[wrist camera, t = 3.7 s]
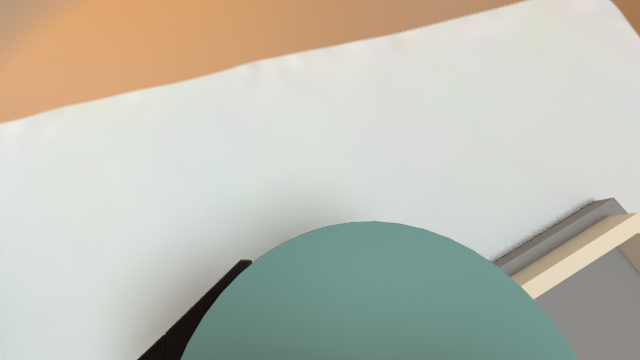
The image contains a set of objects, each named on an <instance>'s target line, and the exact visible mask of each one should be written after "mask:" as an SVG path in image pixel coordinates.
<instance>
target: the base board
mask: <svg viewBox="0 0 640 360" xmlns="http://www.w3.org/2000/svg"><path fill="white" fill-rule="evenodd" d="M493 264H494V265H496V266H497V267H498V268H500V269H501V270H502V271H503V272H505V273H506V274H507V275H508V276H509V277H511V278H512V279H513V280H514V281H515V282H517V283H518V284H519V285H520V286H521V287H522V288H523V289H524V290H525V291H526V292H527V293H528V294H529V295H530V296H531V297H532V298H533V299H534V300H535V301H536V302H537V303H538V305H539V306H540V307H541V308H542V309H543V310H544V312H545V313H546V314H547V315H548V317H549V318H550V319H551V320H552V322H553V323H554V324H555V325H556V327H557V328H558V329H559V331H560V332H561V333H562V335H563V336H564V338H565V339H566V341H567V343H568V344H569V346H570V347H571V349H572V350H573V352H574V354H575V355H576V357H577V358H578V360H640V214H639V213H631V214H628V213H627V212H626V211H625V210H624V209H623V208H622V206H621V205H620V204H619V203H618V202H617V201H616V200H615V198H609V199H604V200H599V201H594V202H593V203H591V204H589V205H588V206H586V207H584V208H583V209H581V210H579V211H578V212H576V213H574V214H573V215H571V216H570V217H568V218H566V219H565V220H563V221H561V222H560V223H558V224H556V225H555V226H553V227H551V228H550V229H548V230H547V231H545V232H543V233H542V234H540V235H538V236H537V237H535V238H533V239H532V240H530V241H528V242H527V243H525V244H524V245H522V246H520V247H519V248H517V249H515V250H514V251H512V252H510V253H509V254H507V255H505V256H504V257H502V258H500V259H499V260H497V261H496V262H494V263H493Z"/></svg>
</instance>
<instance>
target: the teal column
mask: <svg viewBox="0 0 640 360" xmlns="http://www.w3.org/2000/svg"><path fill="white" fill-rule="evenodd" d="M181 360H578V358H577V357H576V355H575V354H574V352H573V350H572V349H571V347H570V346H569V344H568V343H567V341H566V339H565V338H564V336H563V335H562V333H561V332H560V331H559V329H558V328H557V327H556V325H555V324H554V323H553V322H552V320H551V319H550V318H549V317H548V315H547V314H546V313H545V312H544V310H543V309H542V308H541V307H540V306H539V305H538V303H537V302H536V301H535V300H534V299H533V298H532V297H531V296H530V295H529V294H528V293H527V292H526V291H525V290H524V289H523V288H522V287H521V286H520V285H519V284H518V283H517V282H515V281H514V280H513V279H512V278H511V277H509V276H508V275H507V274H506V273H505V272H503V271H502V270H501V269H500V268H498V267H497V266H496V265H494V264H493V263H491V262H490V261H488V260H487V259H485V258H484V257H482V256H481V255H479V254H478V253H476V252H475V251H473V250H471V249H469V248H467V247H465V246H463V245H461V244H459V243H457V242H455V241H453V240H451V239H449V238H447V237H444V236H441V235H439V234H436V233H433V232H430V231H428V230H425V229H421V228H416V227H412V226H408V225H403V224H397V223H387V222H377V221H372V222H350V223H344V224H338V225H332V226H327V227H323V228H320V229H317V230H314V231H310V232H307V233H304V234H302V235H300V236H298V237H295V238H293V239H291V240H289V241H287V242H284V243H282V244H281V245H279V246H277V247H276V248H274V249H273V250H271V251H269V252H268V253H266V254H265V255H263V256H261V257H260V258H259V259H257V260H256V261H255V262H254V263H253V264H251V265H250V266H249V267H248V268H246V269H245V270H244V271H243V272H242V273H240V274H239V275H238V276H237V277H236V278H235V280H234V281H233V282H232V283H231V284H230V285H229V286H228V287H227V288H226V289H225V290H224V291H223V292H222V293H221V294H220V296H219V297H218V298H217V300H216V301H215V302H214V304H213V305H212V306H211V308H210V309H209V310H208V311H207V313H206V314H205V315H204V317H203V319H202V320H201V322H200V324H199V325H198V327H197V329H196V330H195V332H194V334H193V335H192V337H191V339H190V341H189V342H188V344H187V347H186V349H185V351H184V353H183V355H182V358H181Z"/></svg>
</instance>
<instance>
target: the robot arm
mask: <svg viewBox="0 0 640 360" xmlns="http://www.w3.org/2000/svg"><path fill="white" fill-rule="evenodd" d="M251 264H252V261H251V260H240V261H239V262H238V263H237V264H236V265H235V266H234V267H233V268H232V269H231V270H230V271H229V272H228V273H227V274H226V275H224V276H223V277H222V278H221V279H220V280H219V281H218V282H217V283H216V284H215V285H214V286H213V287H212V288H211V289H210V290H209V291H208V292H207V293H206V294H205V295H204V296H203V297H202V298H201V299H200V300H199V301H198V302H197V303H196V304H195V305H194V306H193V307H192V308H191V309H190V310H188V311H187V312H186V313H185V314H184V315H183V316H182V317H181V318H180V319H179V320H178V321H177V322H176V323H175V324H174V325H173V326H172V327H171V328H170V329H169V330H168V331H167V332H166V333H165V335H163V336H162V337H161V338H160V339H159V340H158V341H156V342H155V343H154V344H153V345H152V346H151V347H150V348H149V349H148V350H147V351H146V352H145V353H144V354H143V355H142V356H141V357H139V358H138V359H137V360H181V358H182V355H183V353H184V351H185V349H186V347H187V344H188V342H189V341H190V339H191V337H192V335H193V334H194V332H195V330H196V329H197V327H198V325H199V324H200V322H201V320H202V319H203V317H204V315H205V314H206V313H207V311H208V310H209V309H210V308H211V306H212V305H213V304H214V302H215V301H216V300H217V298H218V297H219V296H220V294H221V293H222V292H223V291H224V290H225V289H226V288H227V287H228V286H229V285H230V284H231V283H232V282H233V281H234V280H235V278H236V277H237V276H238V275H239V274H240V273H242V272H243V271H244V270H245V269H246V268H248V267H249V266H250V265H251Z"/></svg>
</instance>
